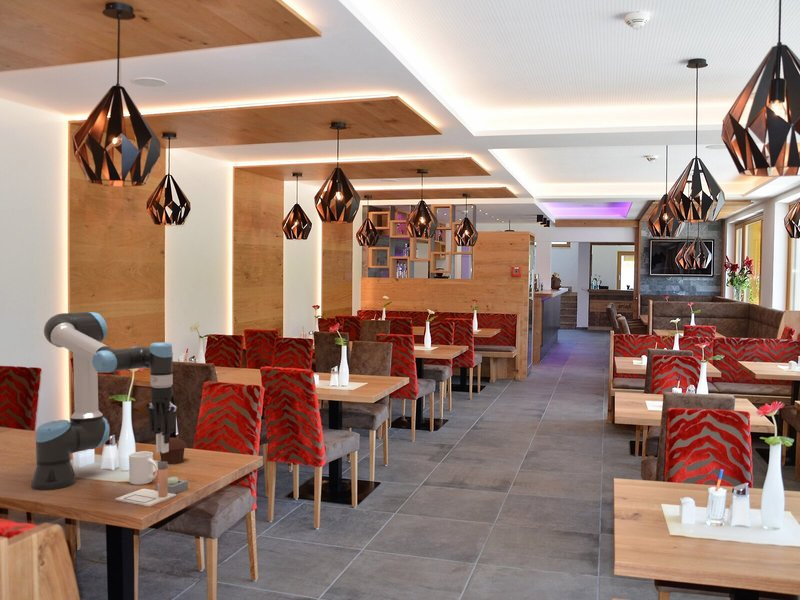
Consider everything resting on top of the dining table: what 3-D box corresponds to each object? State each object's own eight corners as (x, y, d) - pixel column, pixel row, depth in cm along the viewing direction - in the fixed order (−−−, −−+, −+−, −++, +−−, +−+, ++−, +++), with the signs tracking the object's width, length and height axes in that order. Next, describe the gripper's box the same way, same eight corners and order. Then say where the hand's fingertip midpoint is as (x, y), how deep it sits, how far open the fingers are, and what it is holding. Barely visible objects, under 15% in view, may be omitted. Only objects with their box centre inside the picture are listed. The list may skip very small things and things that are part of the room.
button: (162, 487, 259) (162, 479, 259) (171, 484, 263) (171, 476, 263) (172, 489, 257) (171, 480, 257) (180, 485, 261) (180, 477, 261)
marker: (156, 496, 251) (155, 463, 251) (163, 494, 254) (162, 461, 254) (162, 498, 250) (162, 464, 249) (169, 495, 253) (169, 462, 252)
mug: (148, 487, 264) (148, 458, 264) (124, 483, 269) (124, 455, 269) (165, 481, 272) (164, 453, 272) (141, 477, 277) (140, 450, 277)
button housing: (155, 492, 258) (155, 484, 258) (171, 486, 266) (171, 478, 266) (172, 495, 255) (172, 486, 255) (187, 489, 262) (187, 481, 262)
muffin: (186, 457, 308) (186, 434, 307) (187, 463, 297) (186, 440, 297) (157, 459, 304) (157, 436, 303) (157, 466, 293) (156, 442, 293)
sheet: (115, 500, 249) (115, 498, 249) (143, 489, 261) (143, 488, 261) (149, 506, 242) (149, 504, 242) (176, 495, 254) (176, 494, 254)
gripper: (138, 386, 251) (139, 452, 252) (169, 389, 244) (170, 456, 245) (153, 383, 257) (154, 447, 258) (185, 386, 251) (185, 451, 252)
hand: (162, 451), depth 252 cm, fingers open, 2 cm apart
